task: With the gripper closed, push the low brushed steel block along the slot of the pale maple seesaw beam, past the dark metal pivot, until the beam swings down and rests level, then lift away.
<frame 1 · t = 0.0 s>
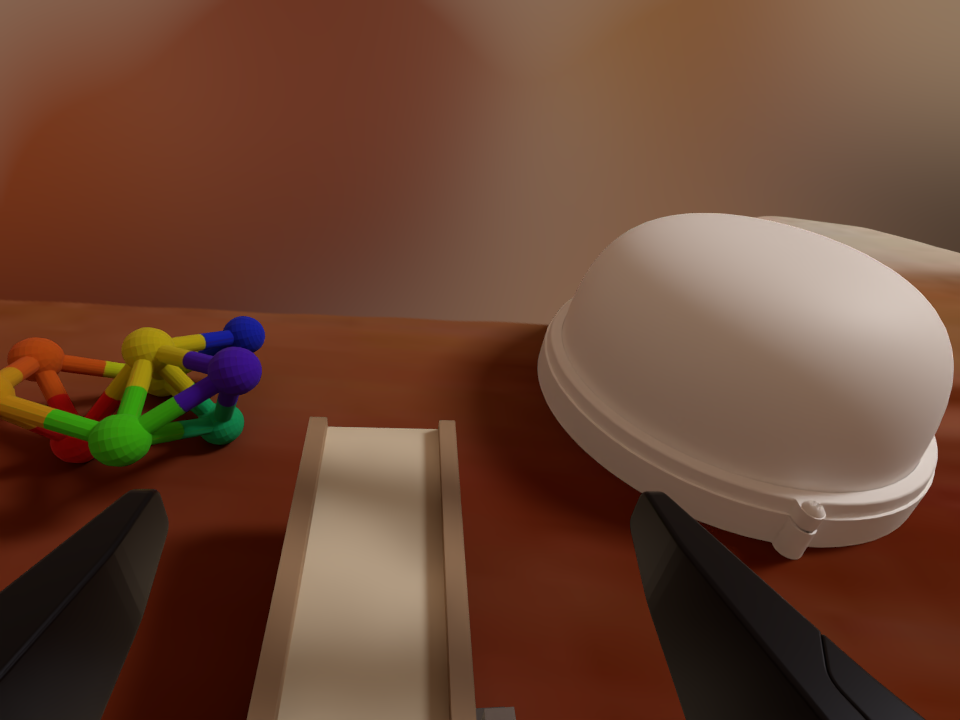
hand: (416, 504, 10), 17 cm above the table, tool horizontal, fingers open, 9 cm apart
beam: (366, 707, 18), point 4 cm above the table, hinge at -6.5°, touching steel block
decorative model: (160, 435, 33), on the table
dome cover: (710, 399, 44), on the table
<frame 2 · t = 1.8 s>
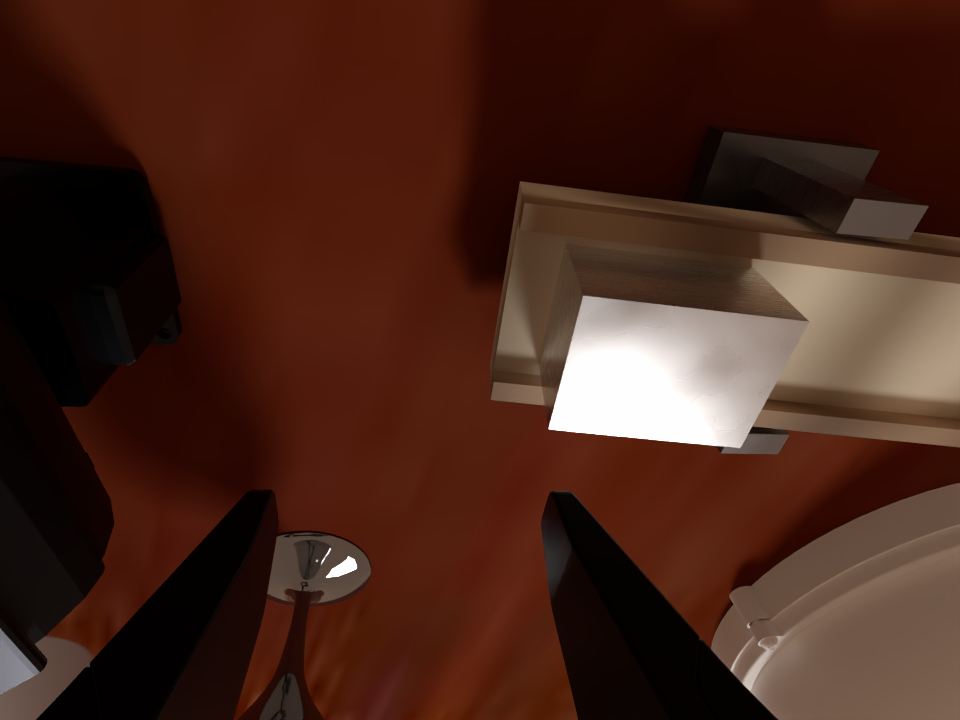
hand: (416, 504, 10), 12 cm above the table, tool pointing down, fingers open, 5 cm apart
beam: (835, 329, 19), point 4 cm above the table, hinge at -6.5°, touching steel block
steel block: (638, 317, 17), point 4 cm above the table, tilted 7°, touching beam
dome cover: (896, 602, 41), on the table
wine glass: (308, 568, 30), on the table
pivot stand: (727, 275, 22), on the table
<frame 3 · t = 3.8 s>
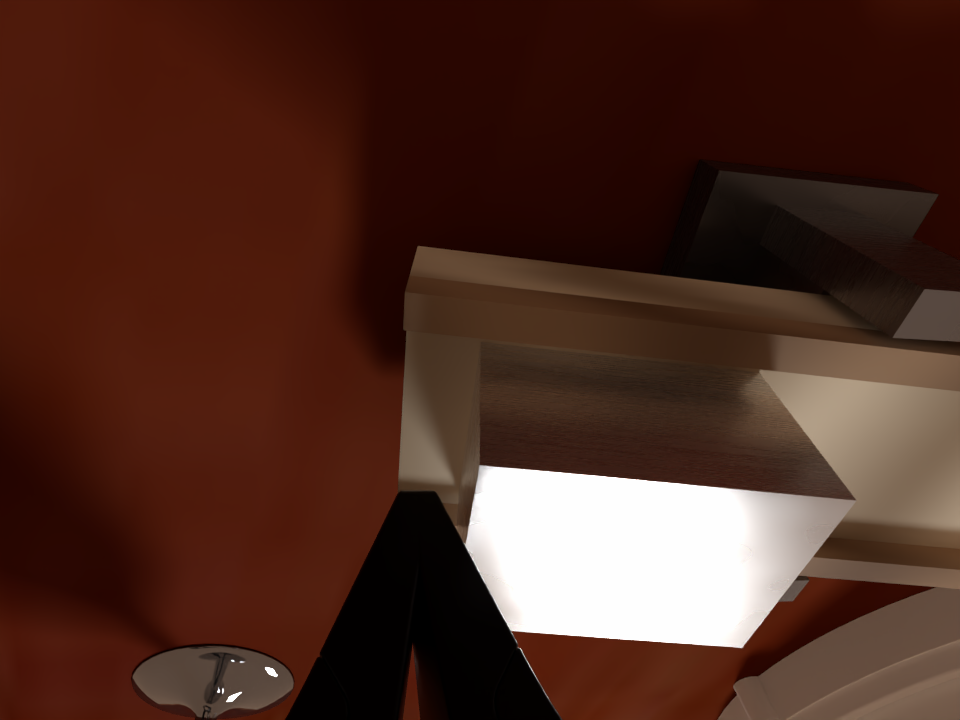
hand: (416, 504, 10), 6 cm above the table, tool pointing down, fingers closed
beam: (875, 443, 13), point 4 cm above the table, hinge at -6.5°, touching steel block
steel block: (596, 436, 12), point 4 cm above the table, tilted 6°, touching beam, gripper
dome cover: (925, 683, 35), on the table
wine glass: (217, 679, 25), on the table
pivot stand: (724, 350, 16), on the table
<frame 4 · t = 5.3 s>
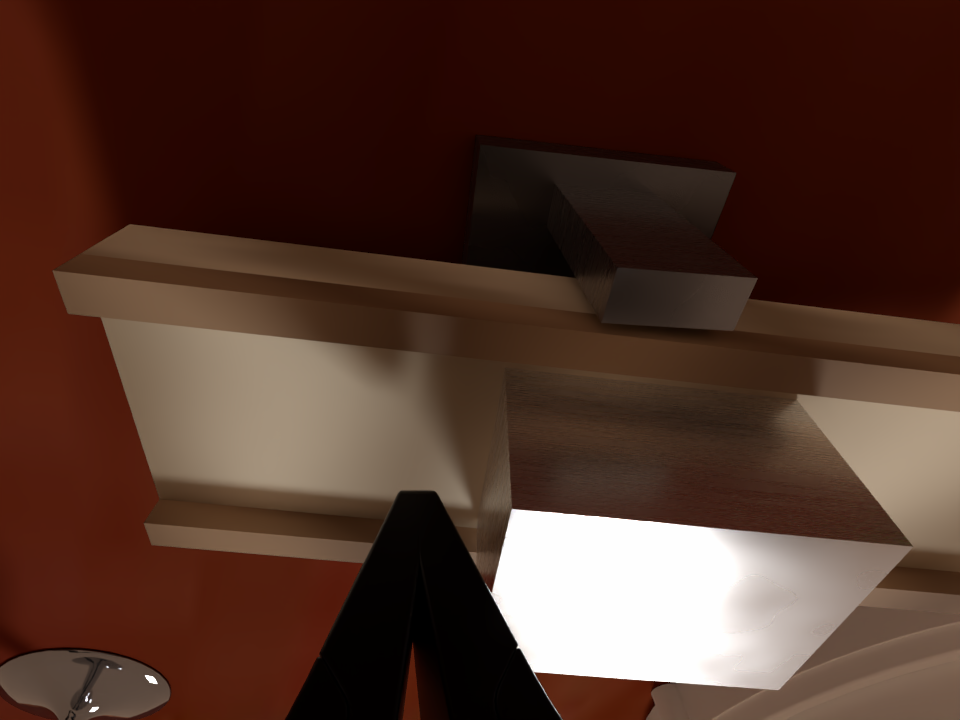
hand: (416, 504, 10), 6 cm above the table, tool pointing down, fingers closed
beam: (672, 441, 12), point 4 cm above the table, hinge at -6.3°, touching steel block
steel block: (622, 463, 12), point 5 cm above the table, tilted 6°, touching beam, gripper
dome cover: (862, 691, 34), on the table
wine glass: (88, 684, 24), on the table
pivot stand: (553, 342, 15), on the table
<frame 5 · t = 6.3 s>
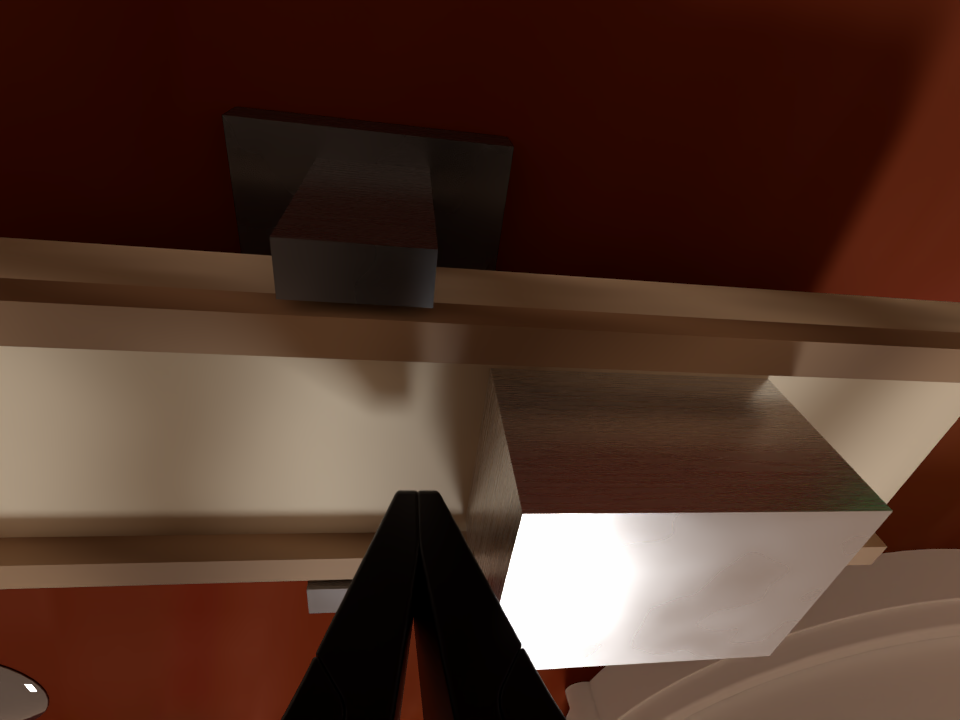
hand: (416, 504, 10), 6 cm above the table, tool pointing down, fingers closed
beam: (453, 424, 12), point 4 cm above the table, hinge at 0.2°, touching steel block
steel block: (606, 453, 12), point 5 cm above the table, touching beam, gripper
dome cover: (789, 686, 34), on the table
pivot stand: (374, 330, 15), on the table
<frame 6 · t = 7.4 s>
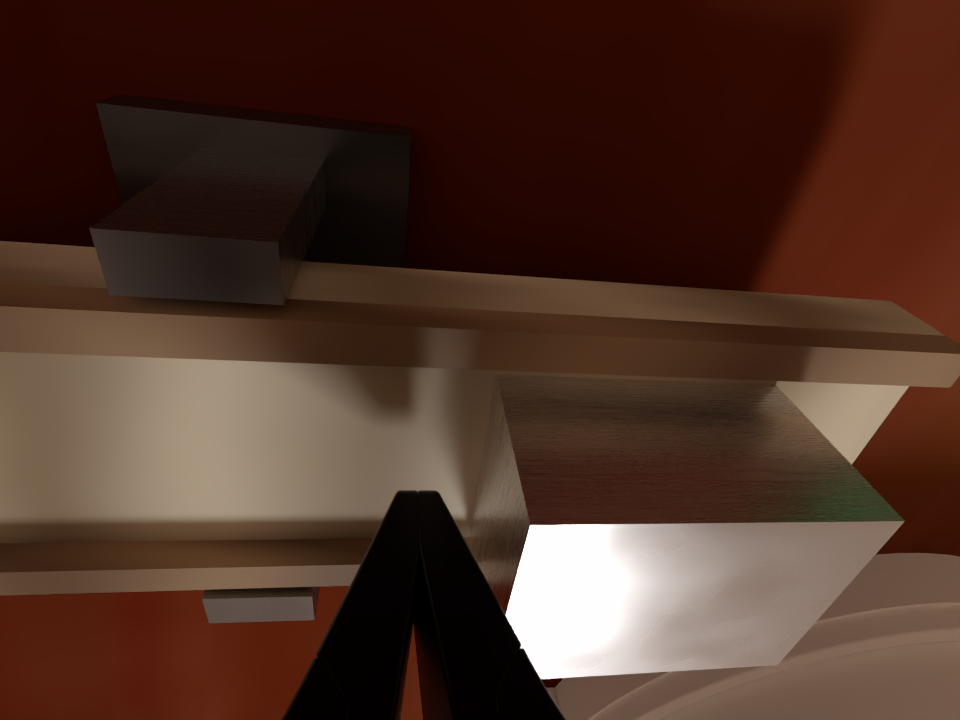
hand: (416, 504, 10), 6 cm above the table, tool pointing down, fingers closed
beam: (351, 427, 11), point 4 cm above the table, hinge at 0.4°, touching steel block
steel block: (612, 459, 12), point 5 cm above the table, touching beam, gripper
dome cover: (765, 692, 33), on the table
pivot stand: (291, 329, 14), on the table
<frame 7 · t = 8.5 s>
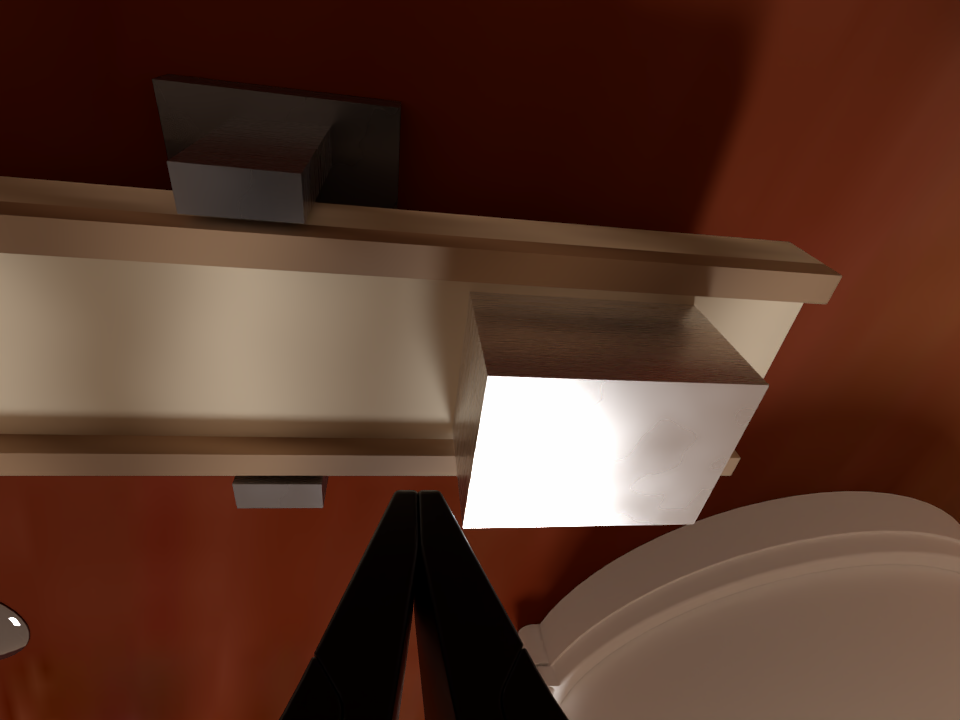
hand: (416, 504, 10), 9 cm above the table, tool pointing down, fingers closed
beam: (353, 342, 14), point 4 cm above the table, hinge at 0.4°, touching steel block
steel block: (566, 370, 15), point 5 cm above the table, touching beam
dome cover: (735, 634, 36), on the table
pivot stand: (301, 275, 17), on the table
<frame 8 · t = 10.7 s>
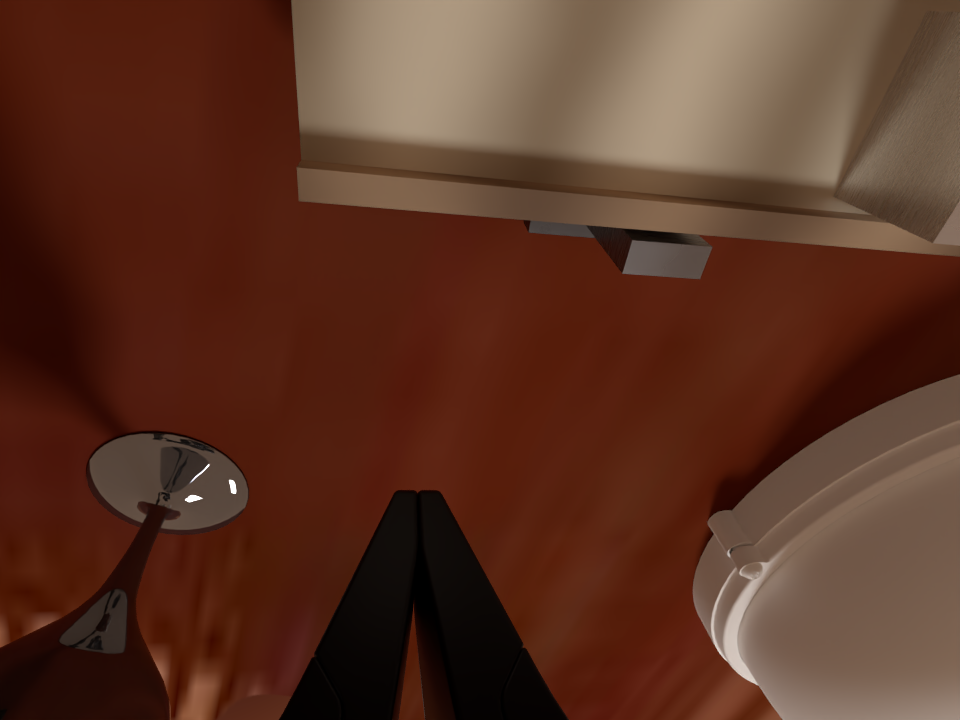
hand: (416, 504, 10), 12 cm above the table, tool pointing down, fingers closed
beam: (765, 91, 14), point 4 cm above the table, hinge at 0.4°, touching steel block
dome cover: (907, 534, 35), on the table
wine glass: (172, 483, 25), on the table
pivot stand: (642, 65, 17), on the table
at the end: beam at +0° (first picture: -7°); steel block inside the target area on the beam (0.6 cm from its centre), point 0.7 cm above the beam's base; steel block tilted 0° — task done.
